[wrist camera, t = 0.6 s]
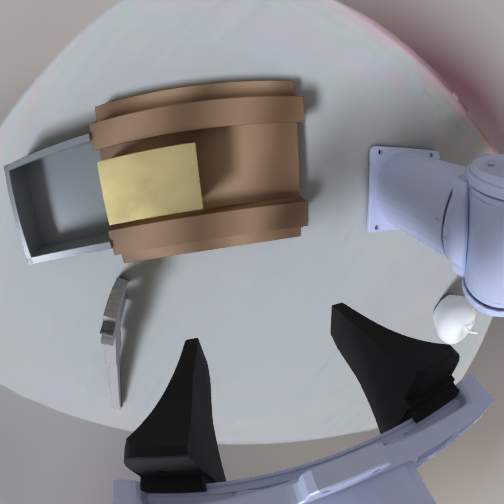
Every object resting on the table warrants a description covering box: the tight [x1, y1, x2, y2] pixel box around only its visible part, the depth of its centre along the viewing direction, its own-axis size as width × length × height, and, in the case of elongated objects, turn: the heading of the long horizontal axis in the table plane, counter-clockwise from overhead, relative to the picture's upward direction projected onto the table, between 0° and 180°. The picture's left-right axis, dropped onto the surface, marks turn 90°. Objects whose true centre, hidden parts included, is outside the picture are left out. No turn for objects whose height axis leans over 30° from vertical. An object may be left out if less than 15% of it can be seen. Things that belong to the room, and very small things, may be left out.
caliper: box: [100, 277, 128, 409], centre depth 22 cm, size 20×1×6 cm, turn 161°
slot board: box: [89, 81, 308, 263], centre depth 18 cm, size 14×12×3 cm
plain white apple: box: [433, 295, 478, 344], centre depth 29 cm, size 7×7×8 cm
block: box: [97, 142, 203, 225], centre depth 16 cm, size 6×4×3 cm, turn 95°
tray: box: [4, 133, 113, 264], centre depth 16 cm, size 8×8×3 cm
